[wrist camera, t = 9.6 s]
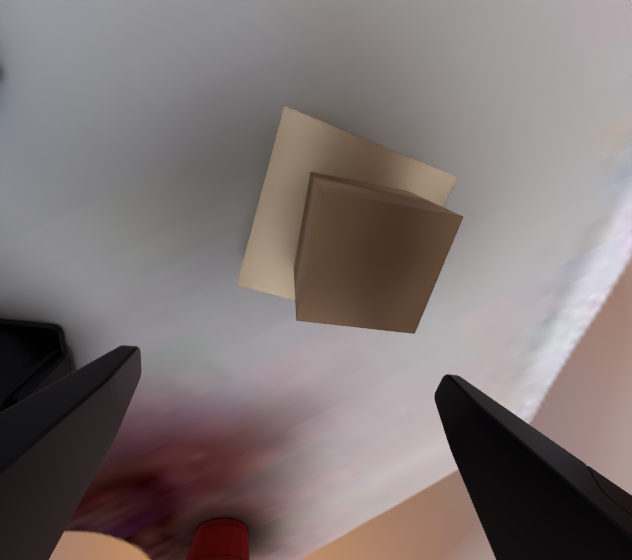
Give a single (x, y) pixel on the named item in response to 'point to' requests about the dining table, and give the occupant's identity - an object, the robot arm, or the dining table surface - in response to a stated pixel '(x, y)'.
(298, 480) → the dining table surface
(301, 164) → the maple base block
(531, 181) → the dining table surface
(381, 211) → the walnut cube
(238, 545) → the plastic cup
